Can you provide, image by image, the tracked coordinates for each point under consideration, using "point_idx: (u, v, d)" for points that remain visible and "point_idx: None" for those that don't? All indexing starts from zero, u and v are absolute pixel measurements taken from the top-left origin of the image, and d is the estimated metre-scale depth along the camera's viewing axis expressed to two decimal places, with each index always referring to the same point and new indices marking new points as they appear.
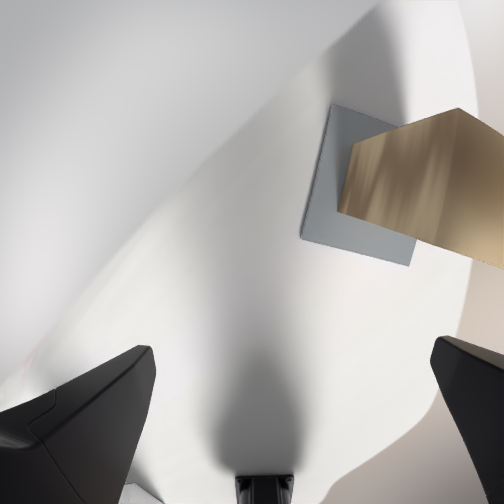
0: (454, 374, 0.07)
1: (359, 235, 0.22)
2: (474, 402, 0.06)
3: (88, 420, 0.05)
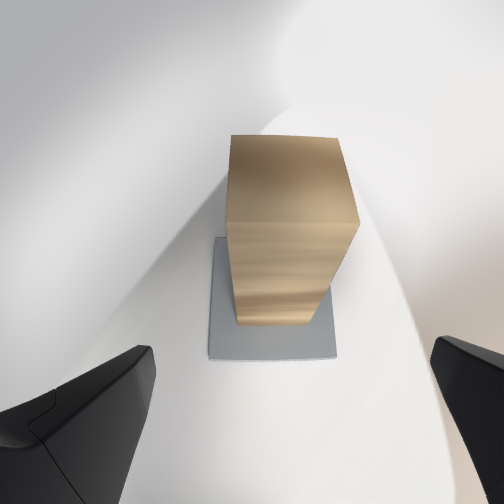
0: (454, 374, 0.07)
1: (268, 342, 0.21)
2: (474, 402, 0.06)
3: (88, 420, 0.05)
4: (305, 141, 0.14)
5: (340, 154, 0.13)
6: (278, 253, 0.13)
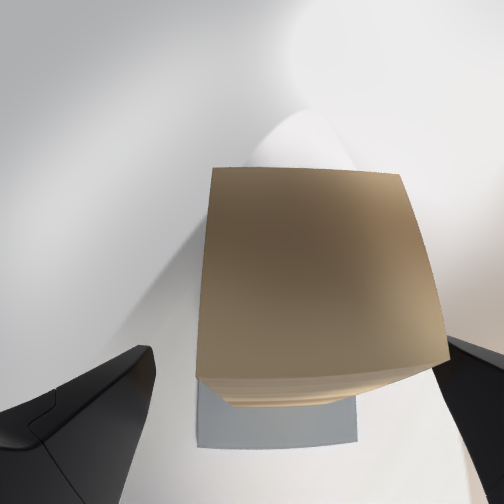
0: (454, 374, 0.07)
1: (272, 427, 0.15)
2: (473, 403, 0.06)
3: (88, 420, 0.05)
4: (348, 180, 0.07)
5: (409, 207, 0.07)
6: (297, 389, 0.07)
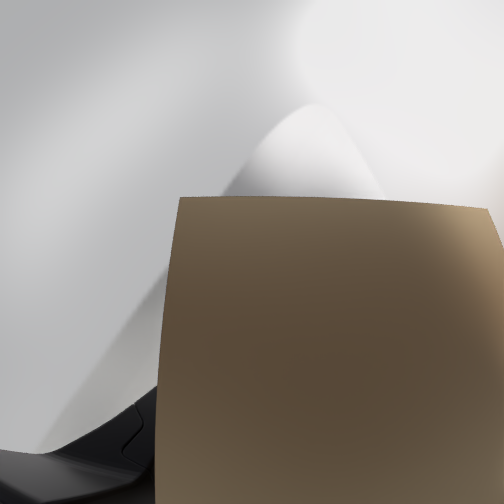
0: None
1: None
2: None
3: None
4: (422, 221, 0.04)
5: None
6: None
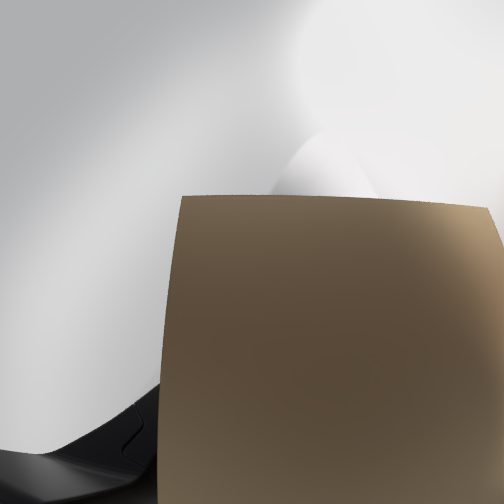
0: None
1: None
2: None
3: None
4: (422, 220, 0.04)
5: None
6: None
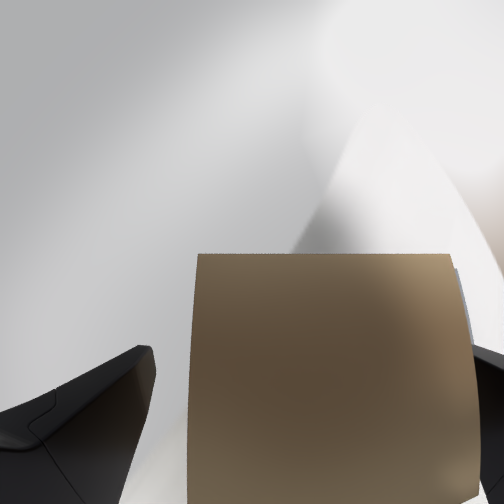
0: None
1: None
2: None
3: (88, 420, 0.05)
4: (387, 270, 0.05)
5: (460, 307, 0.05)
6: None
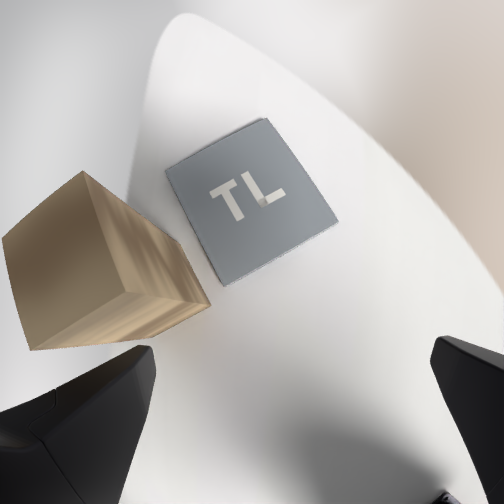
0: (454, 374, 0.07)
1: (268, 239, 0.21)
2: (474, 402, 0.06)
3: (88, 420, 0.05)
4: (54, 200, 0.10)
5: (87, 195, 0.10)
6: (96, 329, 0.11)
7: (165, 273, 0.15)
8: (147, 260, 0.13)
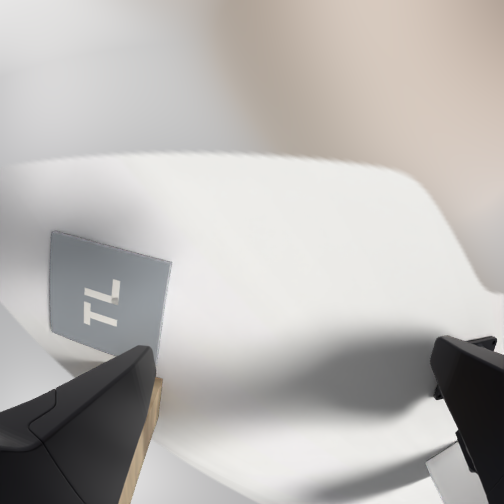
0: (454, 374, 0.07)
1: (144, 321, 0.22)
2: (474, 403, 0.06)
3: (88, 420, 0.05)
4: None
5: None
6: (129, 491, 0.15)
7: None
8: None
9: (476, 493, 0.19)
